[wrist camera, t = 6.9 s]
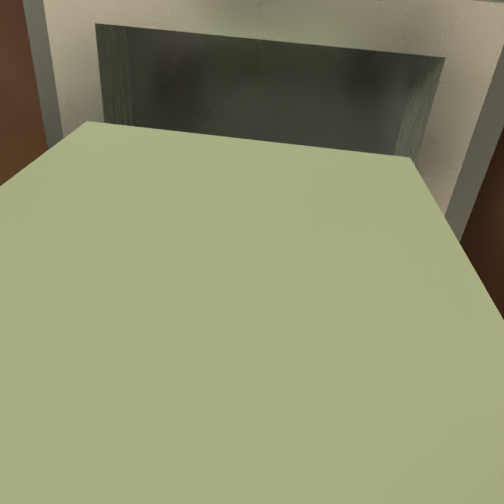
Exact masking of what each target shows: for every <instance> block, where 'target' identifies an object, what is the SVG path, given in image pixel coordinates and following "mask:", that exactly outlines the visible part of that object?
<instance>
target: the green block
mask: <svg viewBox="0 0 504 504" xmlns="http://www.w3.org/2000/svg"><path fill="white" fill-rule="evenodd" d="M0 504H504V320H503V318H502V316H501V315H500V313H499V311H498V309H497V308H496V306H495V304H494V302H493V301H492V299H491V297H490V296H489V294H488V292H487V290H486V289H485V287H484V285H483V283H482V282H481V280H480V278H479V276H478V275H477V273H476V271H475V269H474V268H473V266H472V264H471V262H470V261H469V259H468V257H467V256H466V254H465V252H464V250H463V249H462V247H461V245H460V243H459V242H458V240H457V238H456V236H455V235H454V233H453V231H452V229H451V228H450V226H449V224H448V222H447V221H446V219H445V217H444V215H443V214H442V212H441V210H440V209H439V207H438V205H437V203H436V202H435V200H434V198H433V196H432V195H431V193H430V191H429V189H428V188H427V186H426V184H425V182H424V181H423V179H422V177H421V175H420V174H419V172H418V170H417V169H416V167H415V165H414V163H413V162H412V160H411V158H409V157H401V156H392V155H383V154H374V153H365V152H356V151H347V150H338V149H330V148H321V147H312V146H303V145H294V144H285V143H276V142H268V141H259V140H250V139H241V138H232V137H223V136H214V135H205V134H197V133H188V132H179V131H170V130H161V129H152V128H143V127H135V126H126V125H117V124H108V123H99V122H90V121H86V122H85V123H84V124H82V125H81V126H80V127H78V128H77V129H76V130H74V131H73V132H72V133H70V134H69V135H68V136H66V137H65V138H64V139H62V140H61V141H60V142H58V143H57V144H56V145H54V146H53V147H52V148H51V149H49V150H48V151H47V152H45V153H44V154H43V155H41V156H40V157H39V158H37V159H36V160H35V161H33V162H32V163H31V164H29V165H28V166H27V167H25V168H24V169H23V170H21V171H20V172H19V173H17V174H16V175H15V176H13V177H12V178H11V179H10V180H8V181H7V182H6V183H4V184H3V185H2V186H0Z"/></svg>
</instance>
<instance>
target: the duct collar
mask: <svg viewBox="0 0 504 504" xmlns="http://www.w3.org/2000/svg"><path fill="white" fill-rule="evenodd" d="M23 5H24V11H25V17H26V23H27V28H28V34H29V40H30V46H31V52H32V58H33V64H34V70H35V76H36V81H37V87H38V93H39V99H40V105H41V111H42V117H43V123H44V129H45V134H46V140H47V146H48V150H49V149H51V148H52V147H53V146H54V145H56V144H57V143H58V142H60V141H61V140H62V139H64V138H65V137H66V136H68V135H69V134H70V133H72V132H73V131H74V130H76V129H77V128H78V127H80V126H81V125H82V124H84V123H85V122H86V121H90V122H99V123H108V124H117V125H126V126H135V127H143V128H152V129H161V130H170V131H179V132H188V133H197V134H205V135H214V136H223V137H232V138H241V139H250V140H259V141H268V142H276V143H285V144H294V145H303V146H312V147H321V148H330V149H338V150H347V151H356V152H365V153H374V154H383V155H392V156H401V157H409V158H411V160H412V162H413V163H414V165H415V167H416V169H417V170H418V172H419V174H420V175H421V177H422V179H423V181H424V182H425V184H426V186H427V188H428V189H429V191H430V193H431V195H432V196H433V198H434V200H435V202H436V203H437V205H438V207H439V209H440V210H441V212H442V214H443V215H444V217H445V219H446V221H447V222H448V224H449V226H450V228H451V229H452V231H453V233H454V235H455V236H456V238H457V240H458V242H459V243H460V240H461V237H462V235H463V232H464V230H465V227H466V224H467V222H468V219H469V216H470V214H471V211H472V208H473V206H474V203H475V201H476V198H477V195H478V193H479V190H480V187H481V185H482V182H483V179H484V177H485V174H486V172H487V169H488V166H489V164H490V161H491V158H492V156H493V153H494V150H495V148H496V145H497V143H498V140H499V137H500V135H501V132H502V129H503V127H504V0H23Z"/></svg>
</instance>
